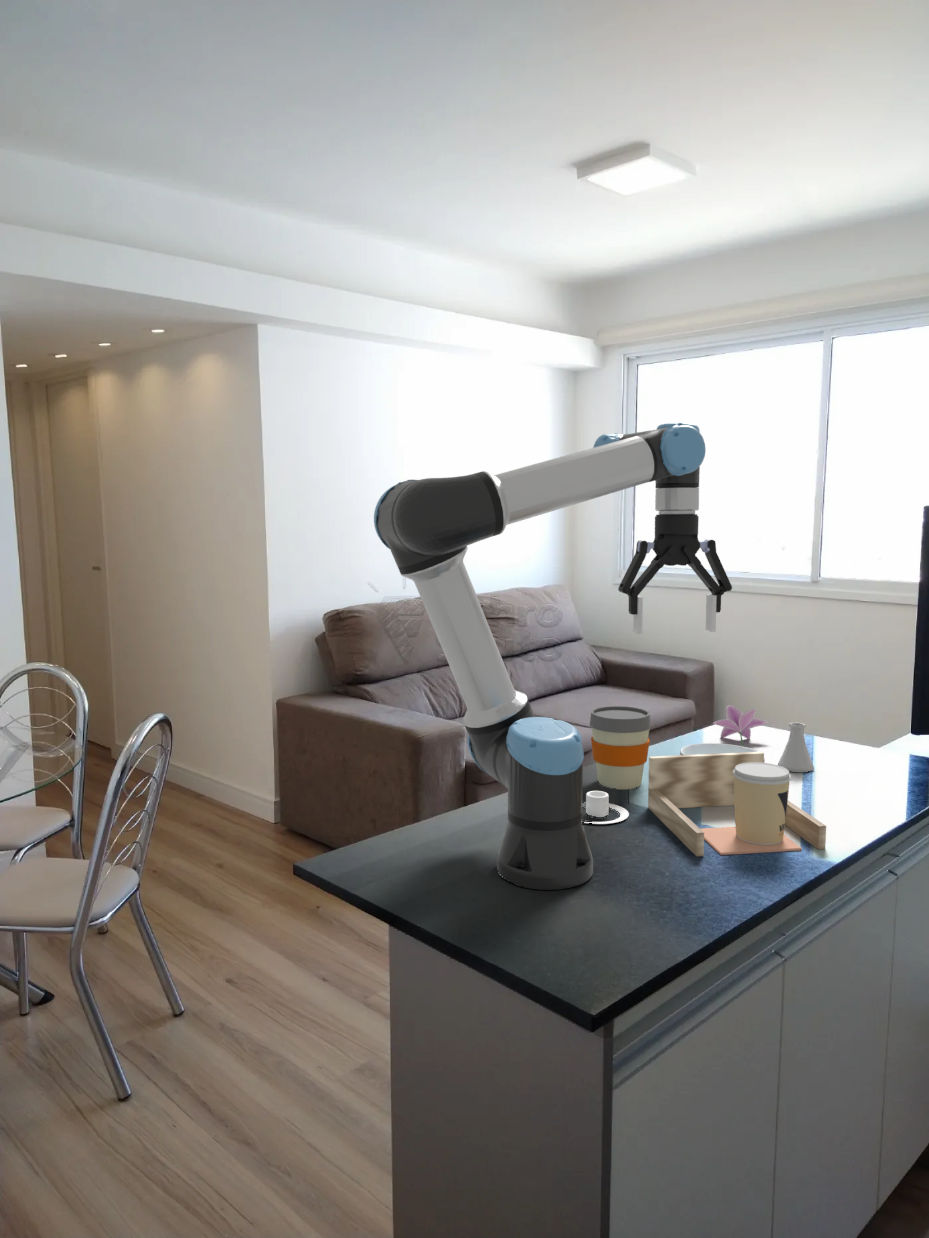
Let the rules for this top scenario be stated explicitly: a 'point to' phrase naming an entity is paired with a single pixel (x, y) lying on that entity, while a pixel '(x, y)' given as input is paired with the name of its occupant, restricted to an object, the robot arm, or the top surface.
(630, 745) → the reusable coffee cup
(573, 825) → the robot arm
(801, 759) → the flask
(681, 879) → the top surface
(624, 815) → the candle holder
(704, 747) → the cereal bowl
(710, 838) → the front mat
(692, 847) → the bay
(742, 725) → the lily
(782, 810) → the coffee cup
